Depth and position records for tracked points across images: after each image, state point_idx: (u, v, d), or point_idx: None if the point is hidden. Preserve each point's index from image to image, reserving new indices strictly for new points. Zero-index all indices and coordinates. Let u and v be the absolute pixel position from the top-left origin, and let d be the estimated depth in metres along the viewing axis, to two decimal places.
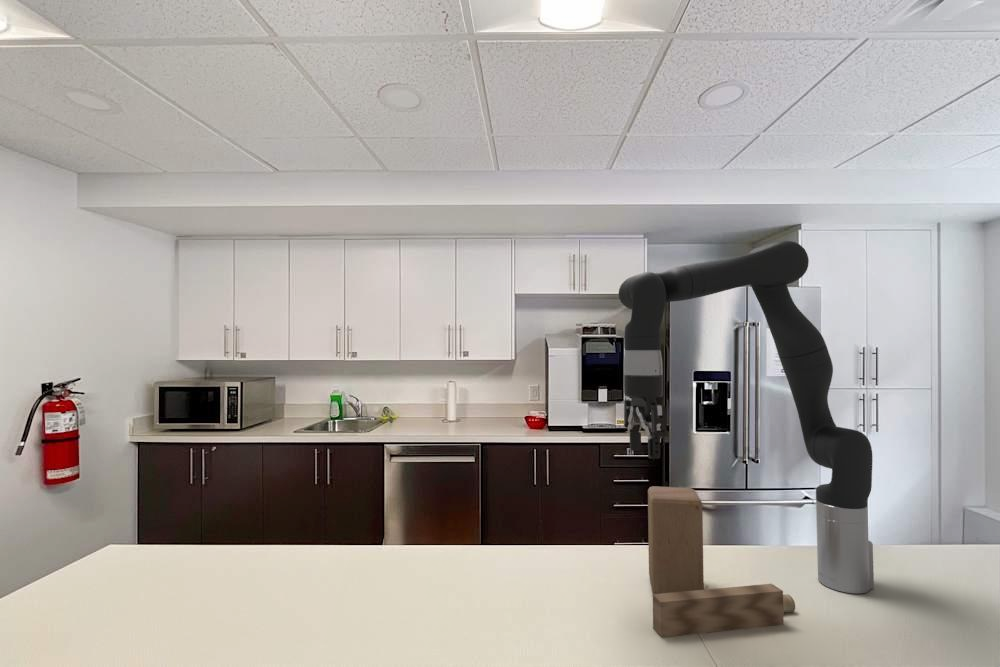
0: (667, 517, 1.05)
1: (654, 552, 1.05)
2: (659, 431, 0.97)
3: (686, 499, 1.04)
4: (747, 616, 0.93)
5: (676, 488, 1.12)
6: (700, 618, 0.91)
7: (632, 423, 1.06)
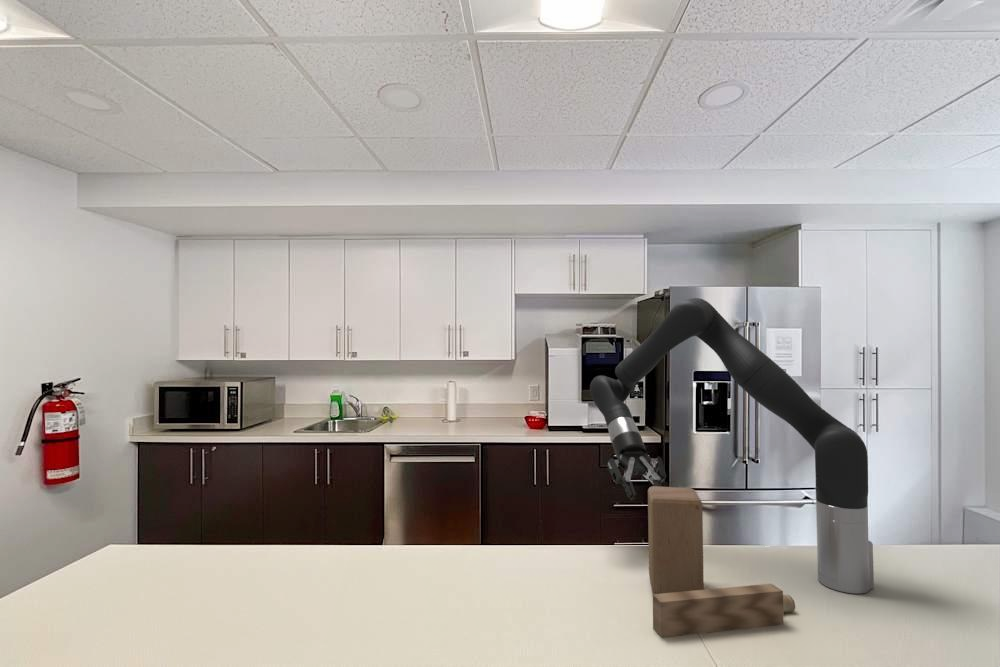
0: (667, 517, 1.05)
1: (654, 552, 1.05)
2: None
3: (686, 499, 1.04)
4: (747, 616, 0.93)
5: (676, 488, 1.12)
6: (700, 618, 0.91)
7: (647, 477, 1.27)
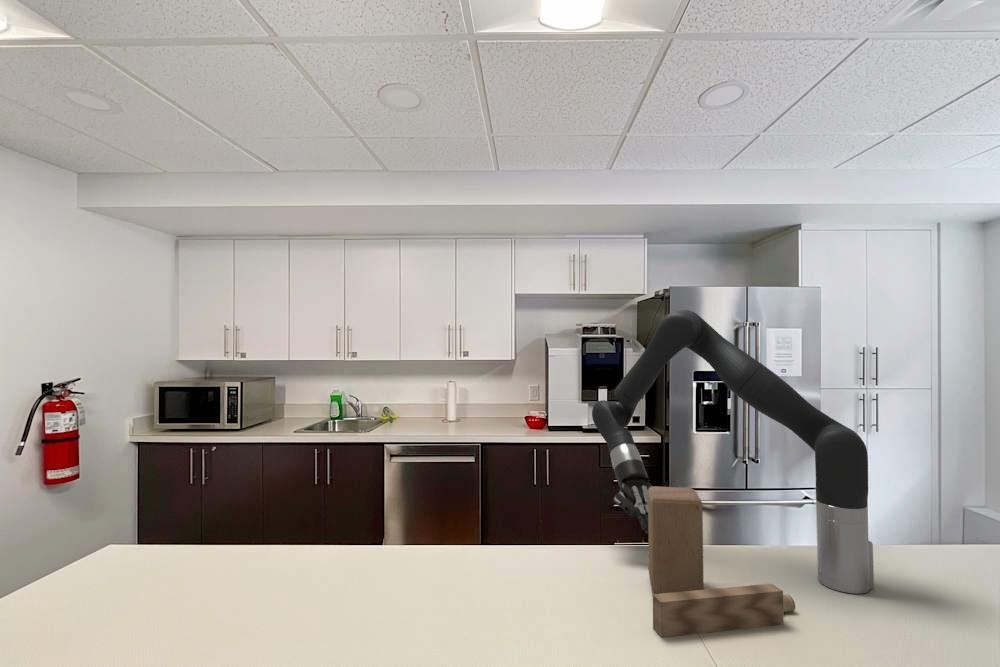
0: (667, 517, 1.05)
1: (654, 552, 1.05)
2: None
3: (686, 499, 1.04)
4: (747, 616, 0.93)
5: (676, 488, 1.12)
6: (700, 618, 0.91)
7: None
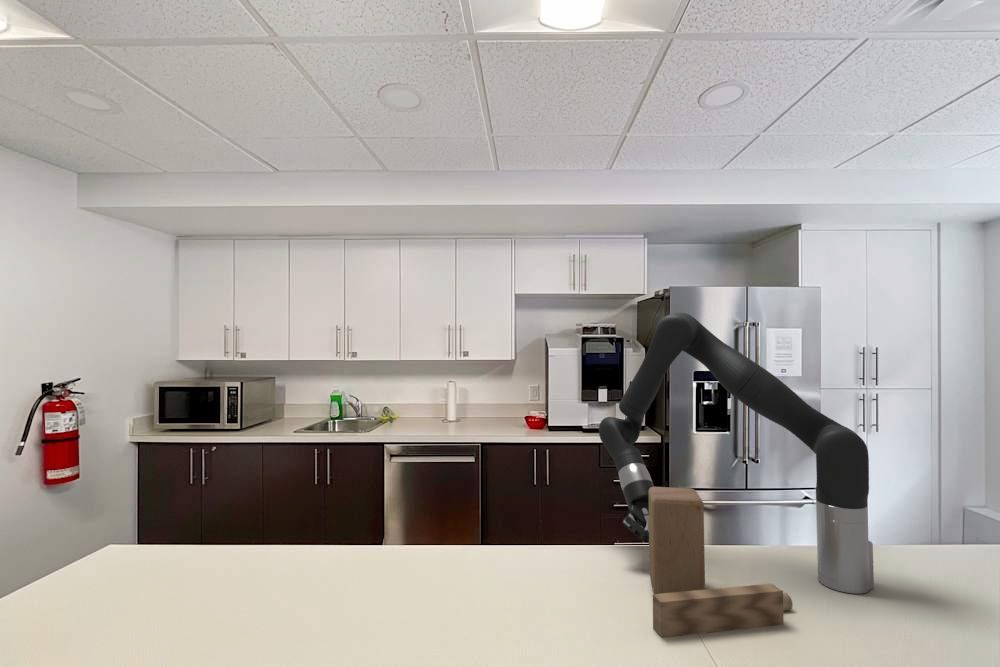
0: (669, 517, 1.04)
1: (655, 553, 1.05)
2: None
3: (687, 499, 1.04)
4: (747, 616, 0.93)
5: (677, 488, 1.12)
6: (700, 618, 0.91)
7: None
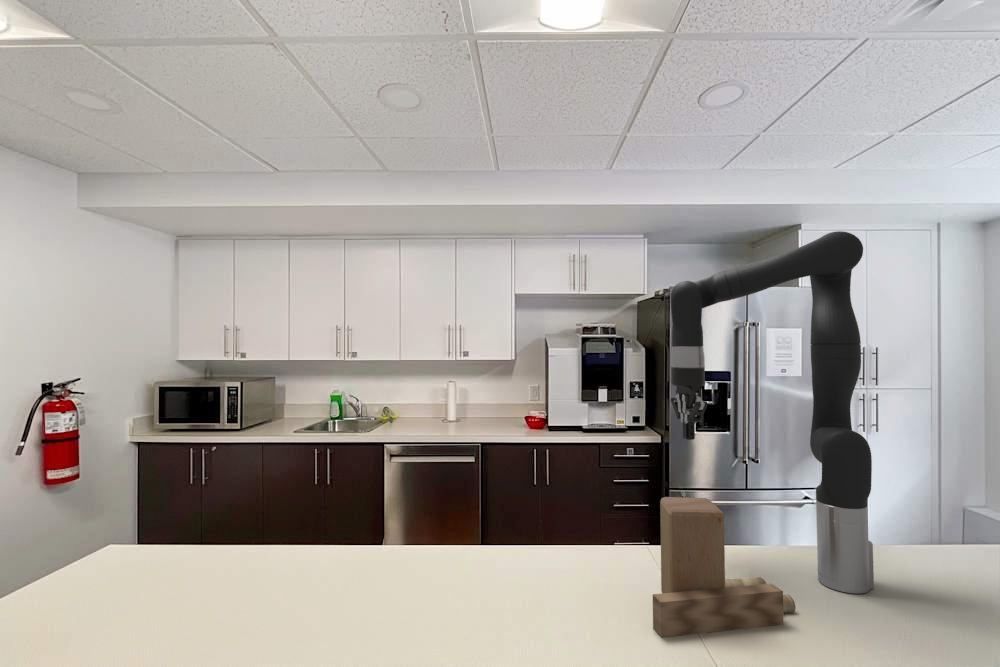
0: (688, 531, 0.96)
1: (673, 570, 0.96)
2: (694, 417, 1.20)
3: (707, 511, 0.96)
4: (747, 616, 0.93)
5: (691, 498, 1.04)
6: (700, 618, 0.91)
7: (683, 411, 1.23)
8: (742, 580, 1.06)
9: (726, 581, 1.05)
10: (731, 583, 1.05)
